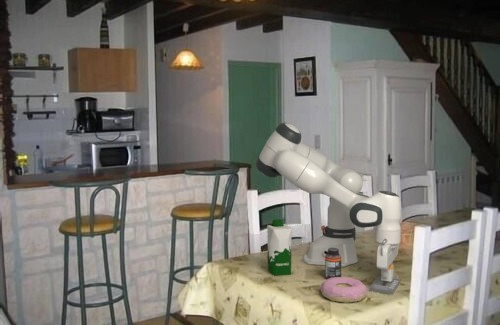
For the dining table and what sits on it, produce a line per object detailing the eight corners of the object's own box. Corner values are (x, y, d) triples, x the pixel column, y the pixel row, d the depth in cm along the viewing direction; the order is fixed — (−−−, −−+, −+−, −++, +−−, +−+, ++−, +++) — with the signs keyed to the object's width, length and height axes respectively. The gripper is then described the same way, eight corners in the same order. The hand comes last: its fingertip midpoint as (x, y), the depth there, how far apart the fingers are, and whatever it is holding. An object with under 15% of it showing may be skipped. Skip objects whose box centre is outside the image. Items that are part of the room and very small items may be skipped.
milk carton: (286, 268, 201) (286, 218, 199) (294, 275, 192) (294, 223, 191) (265, 270, 199) (265, 219, 197) (272, 277, 190) (272, 224, 188)
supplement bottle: (330, 275, 192) (330, 245, 191) (344, 278, 188) (344, 248, 187) (322, 279, 188) (322, 249, 187) (336, 282, 184) (336, 251, 183)
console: (378, 279, 187) (378, 273, 187) (400, 282, 183) (400, 276, 183) (369, 291, 175) (369, 284, 174) (392, 294, 171) (392, 288, 171)
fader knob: (382, 277, 184) (383, 263, 184) (393, 278, 183) (393, 264, 182) (380, 280, 181) (380, 266, 181) (391, 281, 179) (391, 267, 179)
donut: (342, 308, 159) (343, 293, 159) (311, 294, 172) (311, 280, 172) (377, 298, 168) (377, 284, 168) (344, 286, 181) (344, 272, 180)
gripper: (391, 244, 170) (390, 284, 171) (402, 231, 188) (401, 267, 189) (372, 242, 173) (371, 281, 174) (384, 229, 191) (384, 265, 192)
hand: (387, 274), depth 182 cm, fingers closed on fader knob, 4 cm apart
